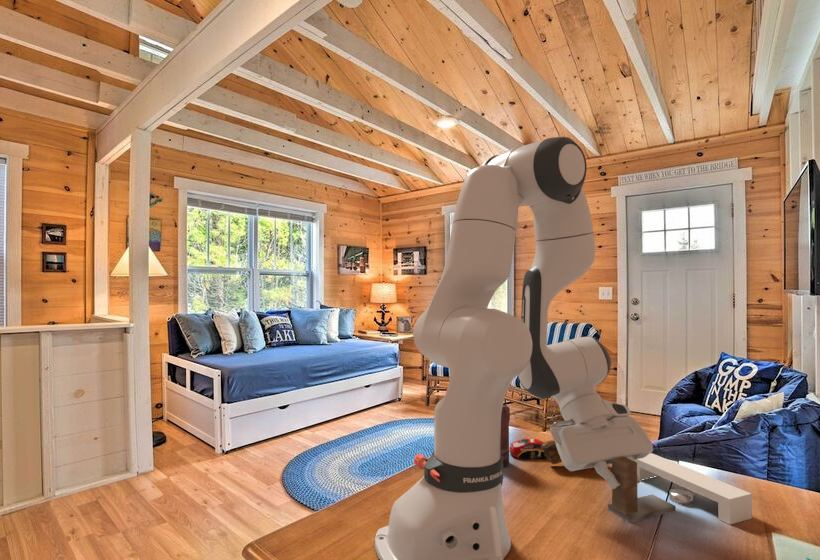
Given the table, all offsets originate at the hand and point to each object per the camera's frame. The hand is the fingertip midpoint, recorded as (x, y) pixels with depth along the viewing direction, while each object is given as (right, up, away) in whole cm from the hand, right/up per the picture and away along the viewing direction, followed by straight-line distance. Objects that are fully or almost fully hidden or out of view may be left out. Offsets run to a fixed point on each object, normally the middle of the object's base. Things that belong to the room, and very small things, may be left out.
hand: (627, 485), depth 81 cm
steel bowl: (+14, -6, +6) cm, 16 cm away
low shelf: (+16, -6, +8) cm, 18 cm away
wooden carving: (-1, -6, +23) cm, 24 cm away
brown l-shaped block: (+4, -6, +2) cm, 7 cm away
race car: (-8, -7, +29) cm, 31 cm away
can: (-19, -6, +24) cm, 32 cm away
